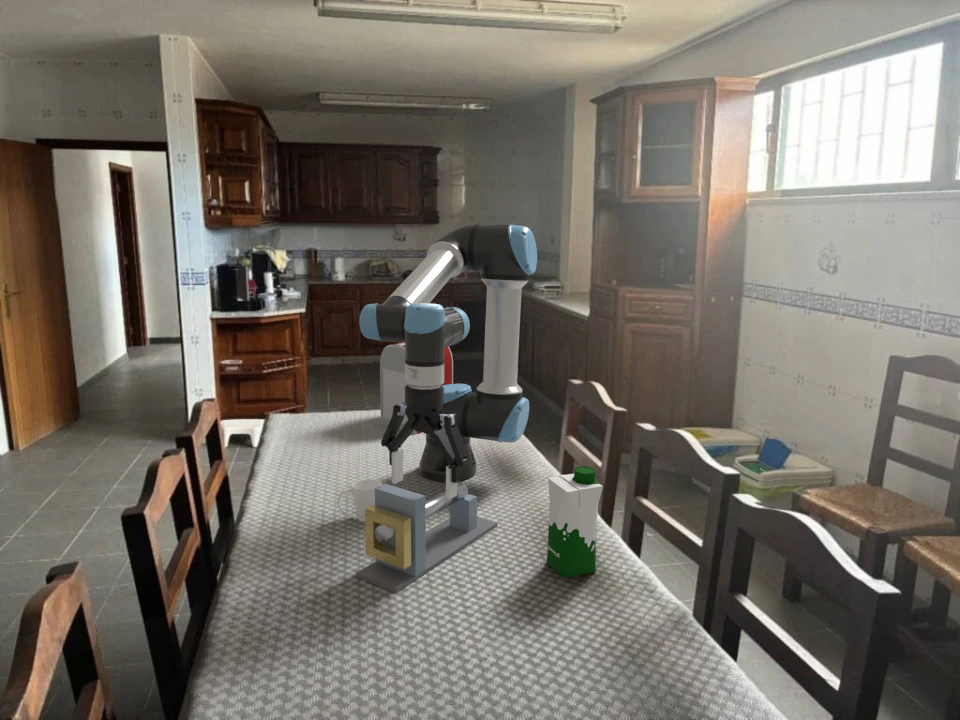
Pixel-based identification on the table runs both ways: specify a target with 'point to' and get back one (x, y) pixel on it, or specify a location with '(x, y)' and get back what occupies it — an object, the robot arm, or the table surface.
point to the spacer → (403, 537)
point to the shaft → (432, 507)
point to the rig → (424, 536)
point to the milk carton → (573, 522)
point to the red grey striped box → (401, 379)
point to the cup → (362, 496)
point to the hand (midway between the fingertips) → (423, 489)
